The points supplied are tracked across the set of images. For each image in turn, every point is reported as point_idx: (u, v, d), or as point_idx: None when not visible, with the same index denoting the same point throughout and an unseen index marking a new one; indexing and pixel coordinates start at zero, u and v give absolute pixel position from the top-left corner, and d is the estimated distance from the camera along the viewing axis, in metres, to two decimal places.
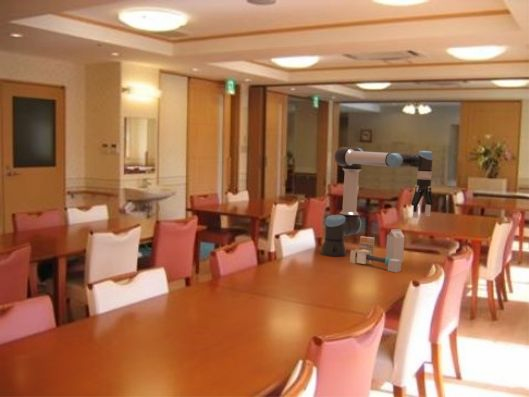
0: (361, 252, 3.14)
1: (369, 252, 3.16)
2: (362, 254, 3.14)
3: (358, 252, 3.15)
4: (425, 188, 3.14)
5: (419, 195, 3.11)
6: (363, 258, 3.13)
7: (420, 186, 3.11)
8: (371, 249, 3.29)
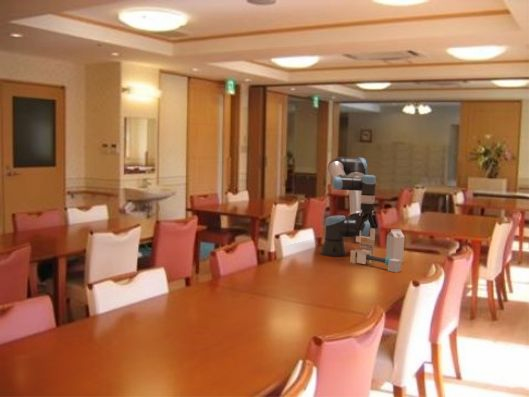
0: (361, 252, 3.14)
1: (369, 252, 3.16)
2: (362, 254, 3.14)
3: (358, 252, 3.15)
4: (368, 212, 3.14)
5: (362, 219, 3.11)
6: (363, 258, 3.13)
7: (363, 210, 3.11)
8: (371, 249, 3.29)
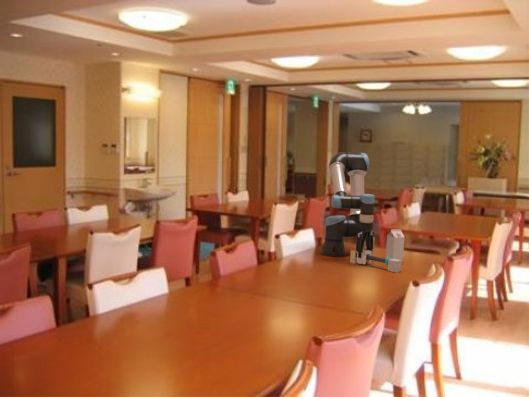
0: None
1: (369, 252, 3.16)
2: None
3: None
4: (367, 231, 3.15)
5: (362, 240, 3.13)
6: (363, 258, 3.13)
7: (362, 229, 3.12)
8: None
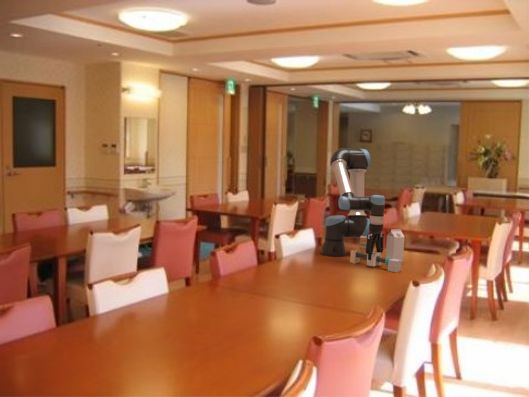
0: None
1: (379, 254, 3.11)
2: None
3: None
4: (377, 233, 3.10)
5: (372, 242, 3.09)
6: (373, 260, 3.09)
7: (372, 231, 3.08)
8: None
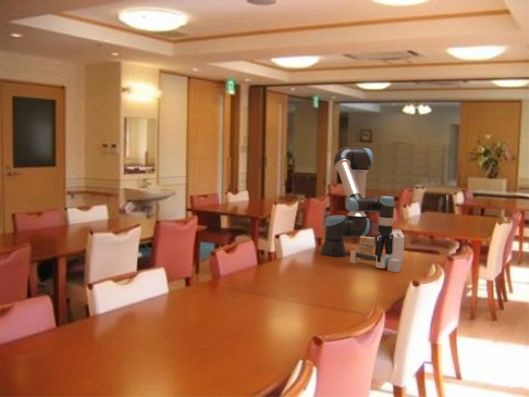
0: None
1: (388, 256, 3.07)
2: None
3: None
4: (386, 234, 3.06)
5: (381, 243, 3.05)
6: (382, 262, 3.05)
7: (381, 233, 3.04)
8: (371, 249, 3.29)
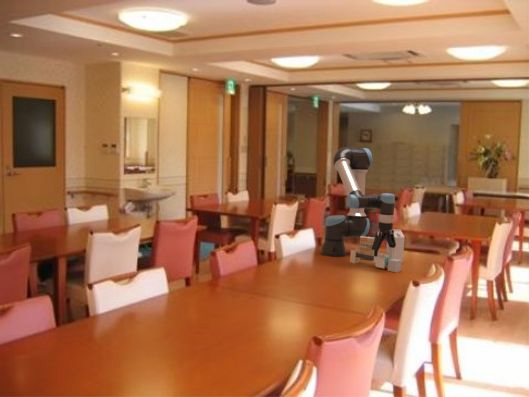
0: (380, 256, 3.06)
1: (388, 256, 3.07)
2: (381, 258, 3.05)
3: None
4: (387, 231, 3.06)
5: (380, 239, 3.04)
6: (382, 262, 3.05)
7: (381, 230, 3.04)
8: (371, 249, 3.29)
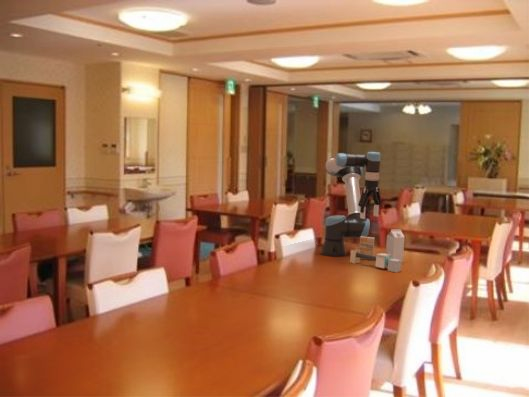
0: (380, 256, 3.06)
1: (388, 256, 3.07)
2: (381, 258, 3.05)
3: (377, 256, 3.07)
4: (373, 189, 3.16)
5: (366, 196, 3.14)
6: (382, 262, 3.05)
7: (367, 187, 3.14)
8: (371, 249, 3.29)
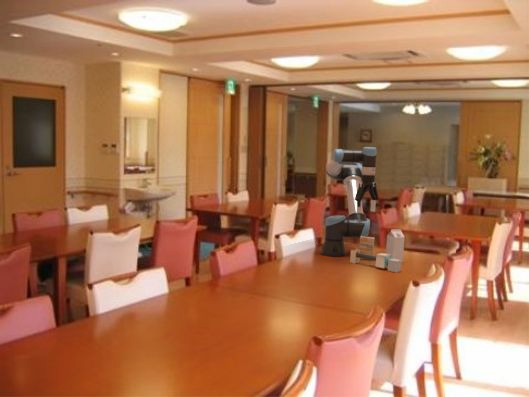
0: (380, 256, 3.06)
1: (388, 256, 3.07)
2: (381, 258, 3.05)
3: (377, 256, 3.07)
4: (369, 184, 3.19)
5: (363, 190, 3.16)
6: (382, 262, 3.05)
7: (364, 182, 3.16)
8: (371, 249, 3.29)
